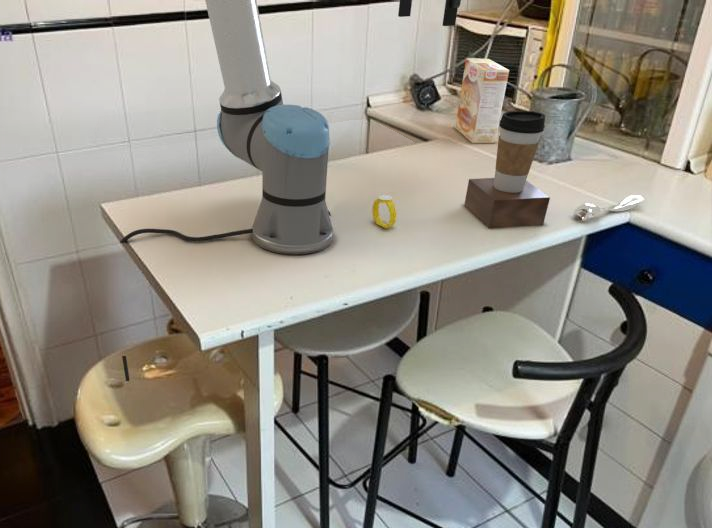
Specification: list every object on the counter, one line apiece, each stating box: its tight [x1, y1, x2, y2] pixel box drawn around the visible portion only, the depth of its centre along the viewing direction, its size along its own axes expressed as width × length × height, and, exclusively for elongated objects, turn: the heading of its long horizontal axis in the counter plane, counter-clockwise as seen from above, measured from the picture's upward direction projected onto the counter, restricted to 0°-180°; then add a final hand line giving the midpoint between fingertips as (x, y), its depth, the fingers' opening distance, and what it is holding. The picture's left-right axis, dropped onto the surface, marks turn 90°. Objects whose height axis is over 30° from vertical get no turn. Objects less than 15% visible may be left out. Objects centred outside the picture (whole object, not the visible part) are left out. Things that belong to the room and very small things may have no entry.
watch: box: [371, 194, 397, 229], centre depth 129 cm, size 6×3×6 cm, turn 31°
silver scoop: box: [573, 194, 644, 222], centre depth 139 cm, size 20×4×5 cm
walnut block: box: [463, 177, 551, 229], centre depth 136 cm, size 12×12×6 cm
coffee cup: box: [493, 110, 546, 193], centre depth 130 cm, size 8×8×15 cm
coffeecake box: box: [454, 57, 510, 144], centre depth 181 cm, size 15×7×20 cm, turn 6°
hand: (425, 21), depth 134 cm, fingers open, 13 cm apart
